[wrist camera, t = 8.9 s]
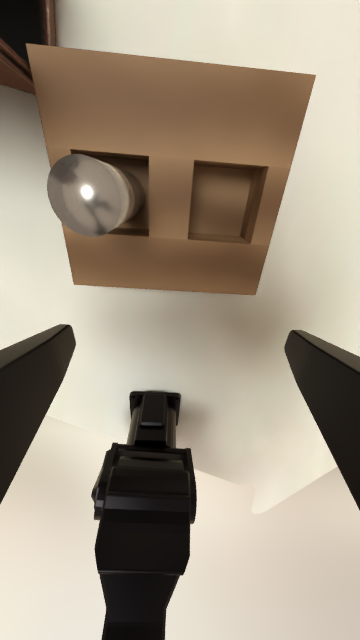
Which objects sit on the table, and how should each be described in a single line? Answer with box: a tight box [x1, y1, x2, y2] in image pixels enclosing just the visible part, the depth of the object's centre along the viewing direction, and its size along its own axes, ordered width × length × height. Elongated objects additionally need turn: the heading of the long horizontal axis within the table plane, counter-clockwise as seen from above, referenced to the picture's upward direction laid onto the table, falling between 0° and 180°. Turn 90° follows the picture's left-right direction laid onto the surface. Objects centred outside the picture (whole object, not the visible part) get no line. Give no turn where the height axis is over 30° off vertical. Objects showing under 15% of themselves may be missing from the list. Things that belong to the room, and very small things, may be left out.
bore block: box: [26, 43, 316, 295], centre depth 15 cm, size 12×14×4 cm
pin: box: [47, 154, 144, 237], centre depth 12 cm, size 3×3×8 cm
